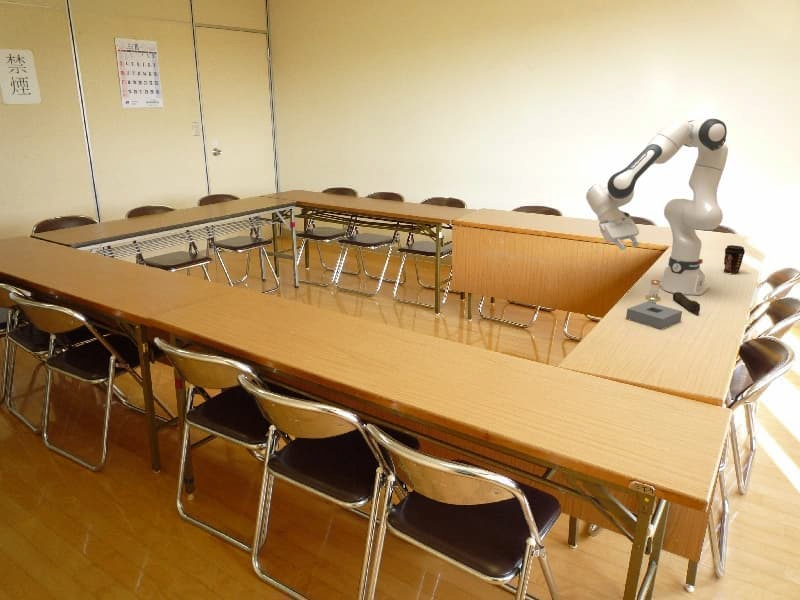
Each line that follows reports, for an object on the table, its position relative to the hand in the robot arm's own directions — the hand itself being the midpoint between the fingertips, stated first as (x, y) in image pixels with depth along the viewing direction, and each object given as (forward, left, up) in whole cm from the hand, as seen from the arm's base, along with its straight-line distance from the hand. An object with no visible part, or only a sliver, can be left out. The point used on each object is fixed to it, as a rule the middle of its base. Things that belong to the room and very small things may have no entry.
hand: (630, 247), depth 236 cm
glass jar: (0, +12, -22) cm, 25 cm away
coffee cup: (-80, +8, -22) cm, 84 cm away
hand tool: (-12, +21, -23) cm, 33 cm away
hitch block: (+13, +20, -22) cm, 33 cm away
